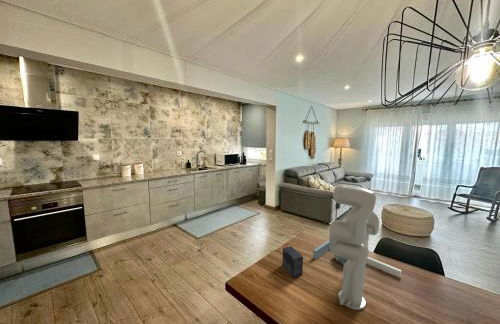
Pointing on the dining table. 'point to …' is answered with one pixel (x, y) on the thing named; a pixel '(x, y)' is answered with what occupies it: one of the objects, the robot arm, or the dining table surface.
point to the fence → (370, 261)
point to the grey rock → (341, 259)
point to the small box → (292, 261)
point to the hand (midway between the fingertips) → (359, 261)
